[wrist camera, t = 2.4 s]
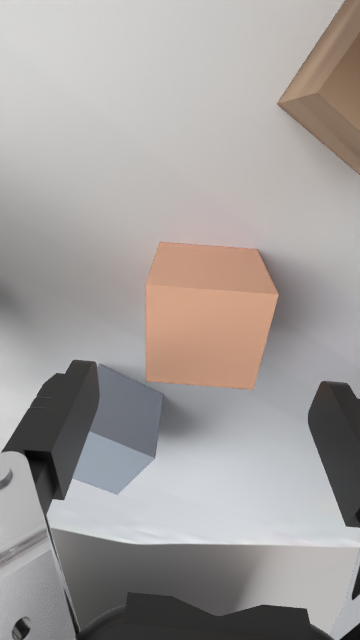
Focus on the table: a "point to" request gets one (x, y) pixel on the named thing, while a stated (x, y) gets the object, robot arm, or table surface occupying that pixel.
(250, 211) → the table surface
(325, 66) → the walnut block
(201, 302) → the terracotta block
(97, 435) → the slate block
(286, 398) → the table surface
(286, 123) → the table surface
